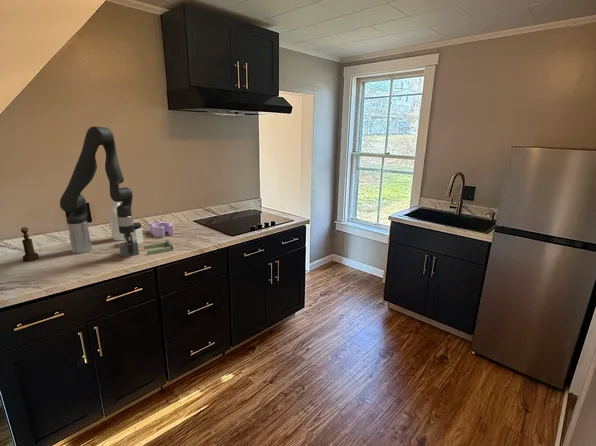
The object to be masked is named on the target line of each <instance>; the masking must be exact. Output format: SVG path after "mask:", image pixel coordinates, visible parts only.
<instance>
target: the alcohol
mask: <svg viewBox="0 0 596 446" xmlns="http://www.w3.org/2000/svg"><path fill="white" fill-rule="evenodd" d="M110 199H111V207H110V210H109V212H108V216H109V222H110V227H111V235H112V240H114V241H116V242H118V241H119V242H120V241H125V240H124V236H123V235H124V234H121V233H120V232H119V226H118V216H117V210H116V208H117V207H118V206H119V205H121V204H120V202H115V201H113V200H112V198H111V197H110Z"/></svg>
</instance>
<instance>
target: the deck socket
mask: <svg viewBox="0 0 596 446" xmlns="http://www.w3.org/2000/svg"><path fill="white" fill-rule="evenodd" d="M159 247H160V248H159ZM143 248H144V250H146V254H147V255H153V254H159V253H164V252H169V251H174V246H173V244H172V242H170V240H169V239H165V241H164V242H163V241H162V242H156V243H150V244H145V245H143Z"/></svg>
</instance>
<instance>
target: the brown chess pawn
mask: <svg viewBox="0 0 596 446" xmlns="http://www.w3.org/2000/svg"><path fill="white" fill-rule="evenodd" d="M20 232H21V233H22V234H23V235H22V237H23V238H24V239H22V240H21V241H22V247H23V250H24V253H25V254H24V255H23V256H22V261H23V262H32V261H36V260H38V259H40V256H39V253H37V252H35V248H34V244H33V239H32V238H30V237H29V236H30V235H29V234H28V232H29V229H28V227H26V226H23V227H21V228H20Z"/></svg>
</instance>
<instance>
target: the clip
mask: <svg viewBox="0 0 596 446" xmlns="http://www.w3.org/2000/svg"><path fill="white" fill-rule="evenodd" d="M148 230H149V233H150V234H152V236H153V237H155V238H162V239H163V238H164V239H165V238H166V235H165V234H166V233H168V236H174V235H175V234H174V225H173V224H172V222H168V221H165V222H164V221H161V220H154V223H152V221H149V222H148Z"/></svg>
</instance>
